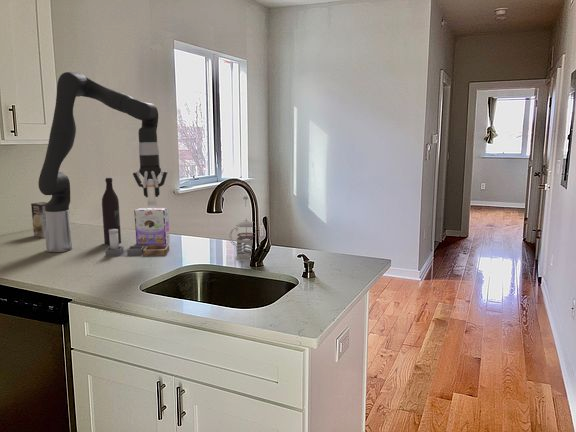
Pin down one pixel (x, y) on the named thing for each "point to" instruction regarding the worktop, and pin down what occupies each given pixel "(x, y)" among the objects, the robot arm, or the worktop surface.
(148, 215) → the candy box
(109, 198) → the wine bottle
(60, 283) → the worktop surface
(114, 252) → the fuse holder
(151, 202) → the marked fuse
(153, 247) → the walnut tray
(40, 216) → the coffee box
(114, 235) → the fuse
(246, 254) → the french press
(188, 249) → the worktop surface
